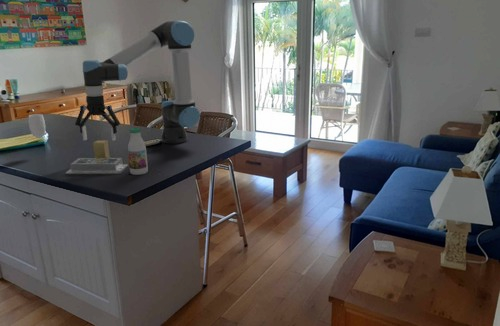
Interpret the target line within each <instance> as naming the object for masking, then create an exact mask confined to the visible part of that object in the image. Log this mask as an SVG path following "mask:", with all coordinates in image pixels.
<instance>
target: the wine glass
mask: <svg viewBox="0 0 500 326" xmlns="http://www.w3.org/2000/svg"><path fill="white" fill-rule="evenodd" d="M45 122H46V121H45V118H44V115H43V114H42V113H35V114H34V113H33V114H29V115H28V126H29V127H28V128H29V130H30V133H31V135H32V136H33V137H35V138H37V139H41V138H43V137H44V136H45V135H46V123H45Z"/></svg>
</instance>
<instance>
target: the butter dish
mask: <svg viewBox="0 0 500 326" xmlns="http://www.w3.org/2000/svg"><path fill="white" fill-rule="evenodd" d="M127 167H129V163H127V164H126V163H124V164H123V158H122V157H110V158H95V157H88V158H87V157H78V158H76V159H75V160H74V161H73V162H72V163H70V169H68V170H66V172H65V175H120V174H122V172H123V171H124V170H125V169H127Z"/></svg>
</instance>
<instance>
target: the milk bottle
mask: <svg viewBox="0 0 500 326" xmlns="http://www.w3.org/2000/svg"><path fill="white" fill-rule="evenodd" d="M129 135H130V138H129V141H128V145H127V155H128V167H129V172H130V175H134V176H139V175H141V176H142V175H145V174H147V173H148V172H149V166H148V155H147V147H146V143H145V141H144V140H143V138H142V136H141V135H142V131H141V128H140V127H131V128H129Z"/></svg>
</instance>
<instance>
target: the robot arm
mask: <svg viewBox="0 0 500 326" xmlns="http://www.w3.org/2000/svg"><path fill="white" fill-rule="evenodd" d="M194 40H195V31H194V27H192V25H191V24H190V23H189V22H187V21H184V20H173V21H172V20H171V21H169V20H168V21H165V22H163V23H161V24H160V25H158V26H156V27H155V28H153V29H152V30H149V32H148V34H147V35H145V36H144V37H142V38H140V39H139V40H138V41H136V42H133V43H132V44H131V45H129V46H128V47H126V48H124V49H122V50H120V51H119V52H117V53H115V54H114V55H113V56H110V57H109V58H107V59H105V60H104V61H100V60H96V59H95V60H94V59H93V60H92V59H90V60H84V61H83V62H82V72H83V81H84V90H85V95H86V97H85V99H86V105H84V104H83V105H80V106H79V107H80V108H79V112H78V115H77V118H76V121H75V126H78V127H79V132H80V134H82V140H83V141H87V140H88V135H87V127H86V125H85V124H86V123H87V122H88V120H89V119H90V118H91V116H101V117H103V118H104V119H105V120H106V122H108V123H109V125H110V133H111V142H114V141H116V134H117V127H119V125H121V123H120V121H119V119H118V117H117V115H116V114H115V113H114V110H113V108H112V105H110V104H109V105H105V98H104V95H103V94H104V87H103V82H113V81H118V82H121V81H125V80H127V79H128V76H129V75H128V73H129V72H128V68H127V67H128V66H130V65H131V64H133V63H135V62H136V61H138V60H139V59H141V58H143V57H145V56H146V55H148V54H150V53H151V52H152V51H154V50H156V49H157V50H160V49H161V48H163V47H167V49H168V51H170V53H171V59H172V70H173V71H172V73H173V82H174V93H175V94H174V95H175V96H174V97H175V99H174V100H165V101H162V102H161V114H162V115H161V118H162V131H161V136H160V141H162V142H161V143H163V144H169V145H170V144H172V145H173V144H175V145H176V144H181V143H185V142H187V141H188V140H189V139H188V137H189V136H188V134H187V131H186V128H189V129H190V128H193V127H195V126H196V125H197V124H198V123H199V121H200V119H201V118H200V116H201V114H200V111H199V109H198V108H197V106H196V101H195V100H194V98H193V95H192V81H191V80H192V79H191V69H190V51H191V50H192V43H193V41H194ZM85 111H88V112H87V113H86V115H85V117H84V118H83V116H84V114H85ZM106 111H107V112H108V113H107V112H106ZM108 114H109V115H108Z"/></svg>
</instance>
